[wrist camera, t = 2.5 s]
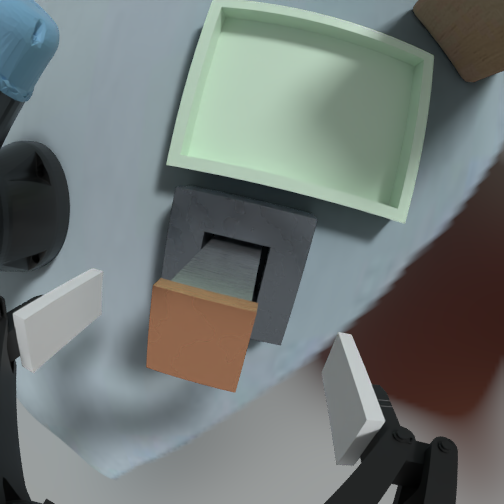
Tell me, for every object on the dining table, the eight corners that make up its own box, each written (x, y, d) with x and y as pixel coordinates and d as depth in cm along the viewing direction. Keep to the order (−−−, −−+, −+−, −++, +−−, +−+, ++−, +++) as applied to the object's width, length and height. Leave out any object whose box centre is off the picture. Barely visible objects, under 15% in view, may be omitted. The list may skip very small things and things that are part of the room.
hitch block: (171, 296, 29) (157, 313, 25) (189, 185, 26) (175, 186, 23) (280, 324, 29) (280, 345, 25) (311, 213, 26) (317, 219, 22)
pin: (207, 274, 28) (146, 367, 14) (217, 227, 27) (152, 285, 13) (255, 286, 28) (235, 392, 14) (267, 239, 27) (256, 312, 13)
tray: (177, 165, 26) (166, 164, 23) (219, 12, 22) (213, -3, 19) (392, 218, 26) (404, 223, 23) (420, 64, 22) (434, 55, 19)
